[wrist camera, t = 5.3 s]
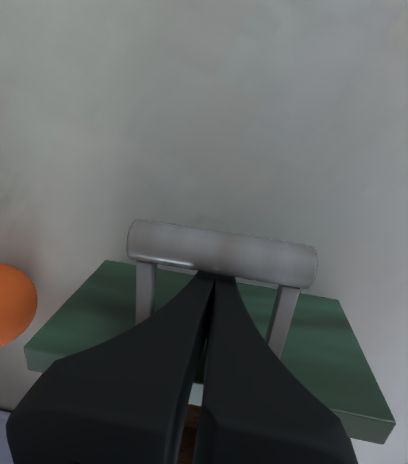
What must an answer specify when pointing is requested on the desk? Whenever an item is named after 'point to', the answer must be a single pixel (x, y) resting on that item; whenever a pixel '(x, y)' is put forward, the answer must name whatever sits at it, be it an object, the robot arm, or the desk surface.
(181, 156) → the desk surface
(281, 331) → the drawer
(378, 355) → the desk surface
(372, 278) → the desk surface
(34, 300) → the ball
